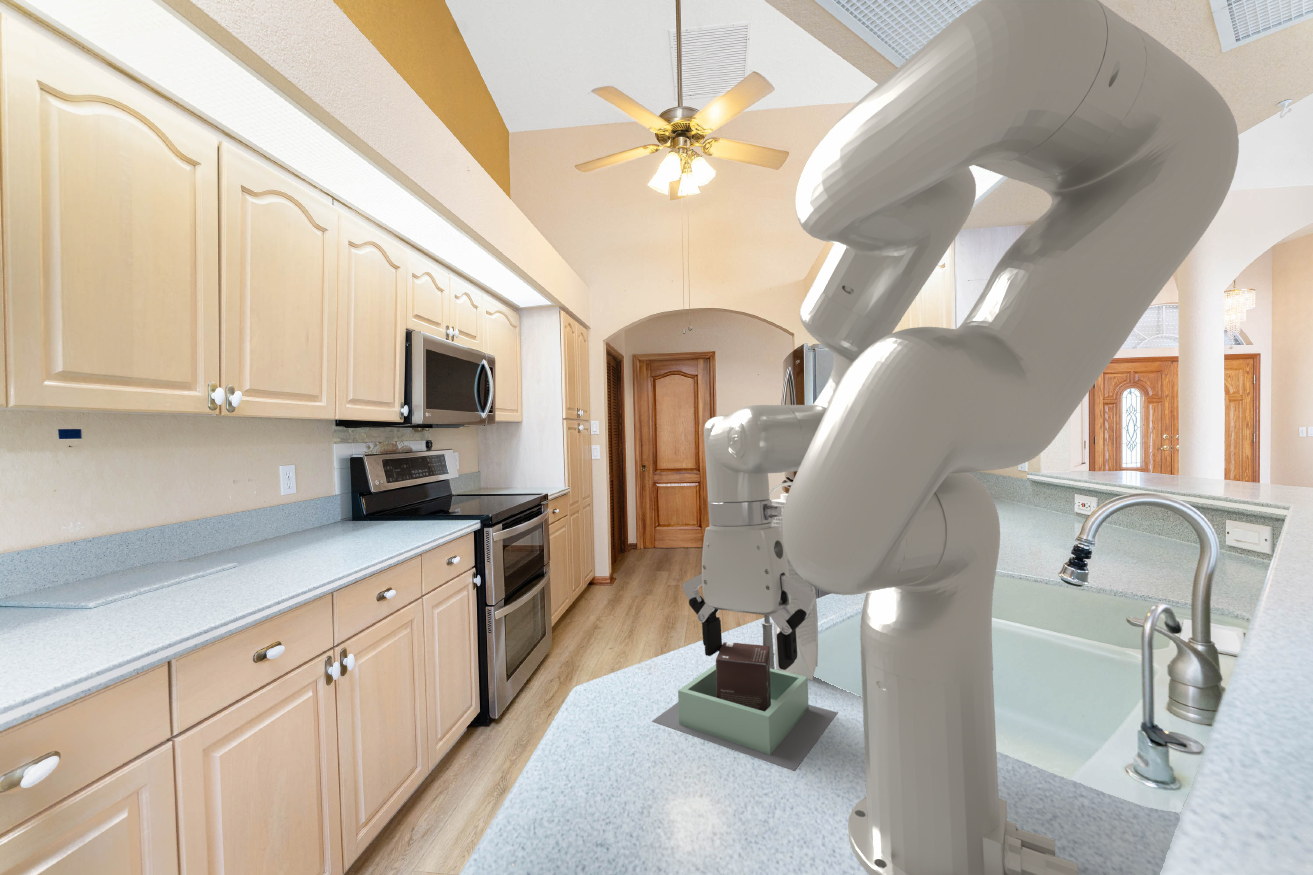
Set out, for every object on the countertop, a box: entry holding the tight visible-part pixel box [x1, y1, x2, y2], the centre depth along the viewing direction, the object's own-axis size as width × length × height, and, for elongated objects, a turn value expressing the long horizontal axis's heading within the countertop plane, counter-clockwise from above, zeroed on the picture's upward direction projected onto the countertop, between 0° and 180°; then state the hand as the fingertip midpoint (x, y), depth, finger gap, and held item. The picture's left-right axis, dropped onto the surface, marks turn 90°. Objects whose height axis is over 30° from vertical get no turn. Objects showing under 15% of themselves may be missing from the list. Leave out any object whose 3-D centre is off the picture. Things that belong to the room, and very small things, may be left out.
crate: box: [677, 663, 810, 755], centre depth 64 cm, size 12×12×4 cm
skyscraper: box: [761, 481, 819, 681], centre depth 77 cm, size 8×8×28 cm
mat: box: [651, 701, 839, 772], centre depth 64 cm, size 18×14×1 cm
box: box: [715, 641, 771, 712], centre depth 64 cm, size 6×6×7 cm
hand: (748, 658), depth 63 cm, fingers open, 9 cm apart
